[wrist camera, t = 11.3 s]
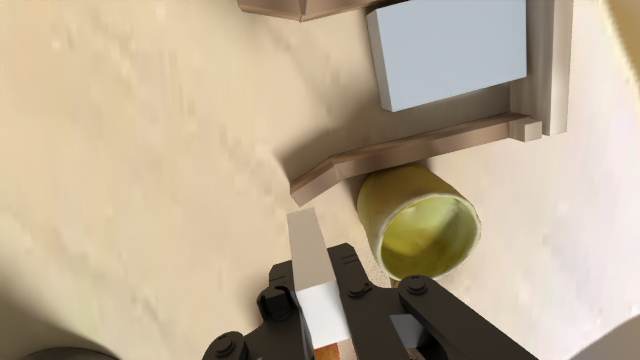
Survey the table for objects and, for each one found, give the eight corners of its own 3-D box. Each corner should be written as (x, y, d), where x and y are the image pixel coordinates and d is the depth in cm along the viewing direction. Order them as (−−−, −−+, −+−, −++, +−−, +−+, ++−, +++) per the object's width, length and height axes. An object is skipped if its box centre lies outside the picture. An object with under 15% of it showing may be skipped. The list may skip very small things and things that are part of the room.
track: (293, 196, 31) (294, 218, 27) (237, -8, 25) (226, -27, 20) (524, 138, 32) (565, 150, 27) (525, -74, 26) (579, -106, 21)
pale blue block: (380, 107, 30) (392, 112, 27) (364, 16, 27) (376, 9, 24) (500, 76, 30) (526, 76, 27) (496, -18, 27) (525, -30, 24)
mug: (358, 138, 28) (425, 205, 21) (439, 151, 33) (518, 210, 25) (317, 239, 34) (358, 321, 26) (391, 238, 39) (444, 307, 31)
